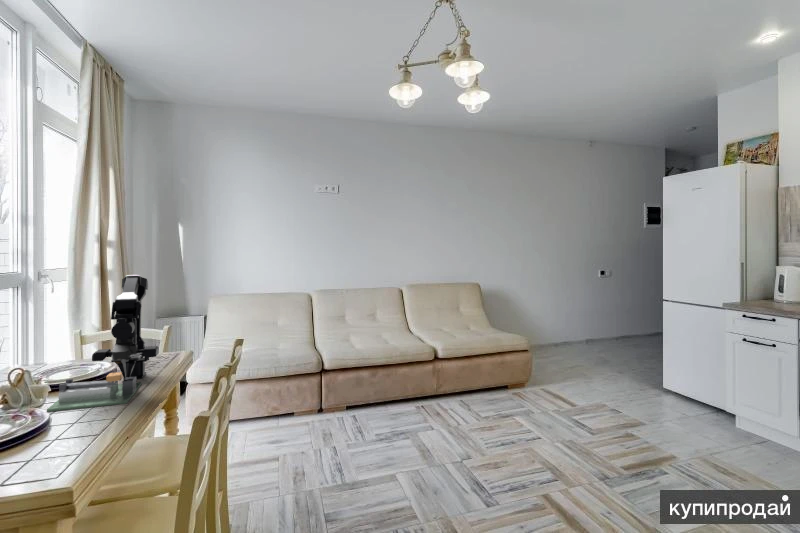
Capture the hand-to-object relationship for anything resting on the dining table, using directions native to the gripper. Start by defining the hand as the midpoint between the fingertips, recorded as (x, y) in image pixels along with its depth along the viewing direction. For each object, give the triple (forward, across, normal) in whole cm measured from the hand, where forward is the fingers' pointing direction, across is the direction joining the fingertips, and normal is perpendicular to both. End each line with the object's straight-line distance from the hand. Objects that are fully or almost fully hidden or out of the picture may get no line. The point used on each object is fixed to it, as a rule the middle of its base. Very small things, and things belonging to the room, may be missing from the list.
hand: (127, 377), depth 138 cm
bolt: (0, -4, 0) cm, 4 cm away
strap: (+2, -11, 0) cm, 11 cm away
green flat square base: (+6, -8, 0) cm, 10 cm away
